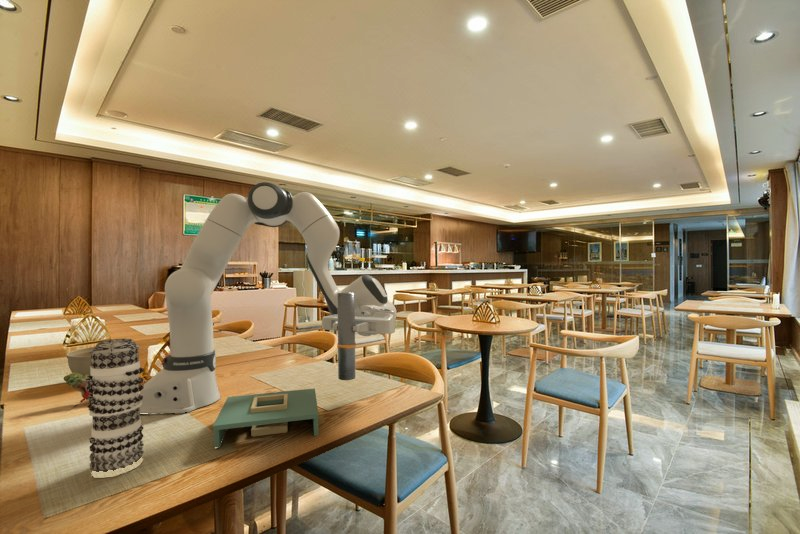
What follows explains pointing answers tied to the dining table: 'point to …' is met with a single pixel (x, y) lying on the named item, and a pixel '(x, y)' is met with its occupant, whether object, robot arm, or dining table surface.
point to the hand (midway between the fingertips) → (344, 328)
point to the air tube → (346, 335)
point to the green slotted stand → (266, 412)
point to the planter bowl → (80, 361)
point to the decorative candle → (115, 405)
